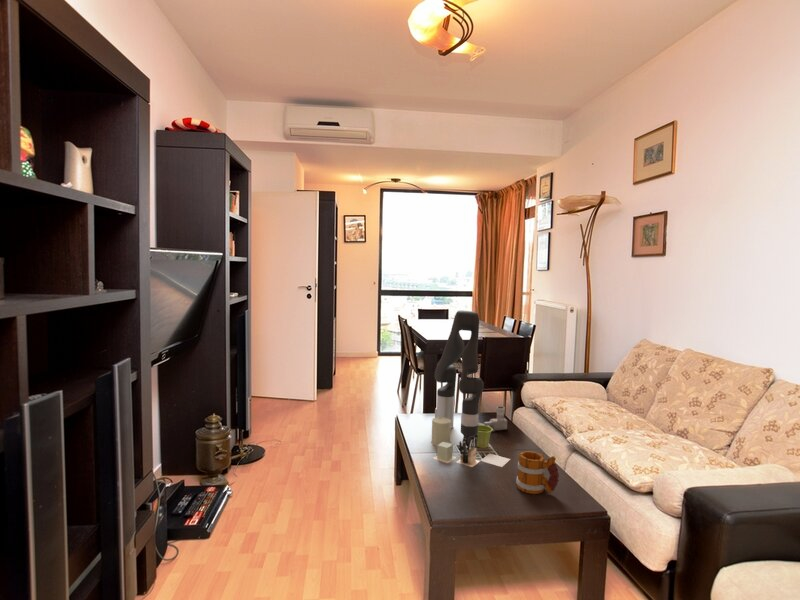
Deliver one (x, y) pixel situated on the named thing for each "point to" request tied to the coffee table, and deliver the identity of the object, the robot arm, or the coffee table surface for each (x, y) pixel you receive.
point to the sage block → (444, 451)
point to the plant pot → (483, 436)
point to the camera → (497, 420)
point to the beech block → (470, 456)
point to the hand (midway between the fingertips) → (468, 460)
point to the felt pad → (495, 460)
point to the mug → (536, 473)
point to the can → (440, 430)
